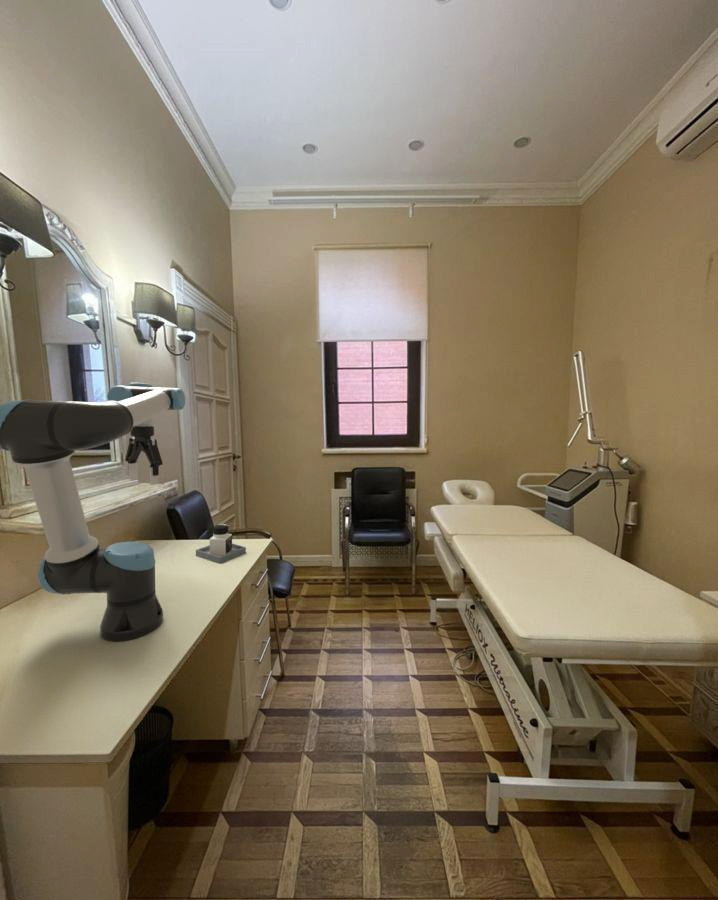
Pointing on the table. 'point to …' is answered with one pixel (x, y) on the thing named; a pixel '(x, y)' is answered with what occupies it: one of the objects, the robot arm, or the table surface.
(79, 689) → the table surface
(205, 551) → the tray
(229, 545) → the medicine bottle
